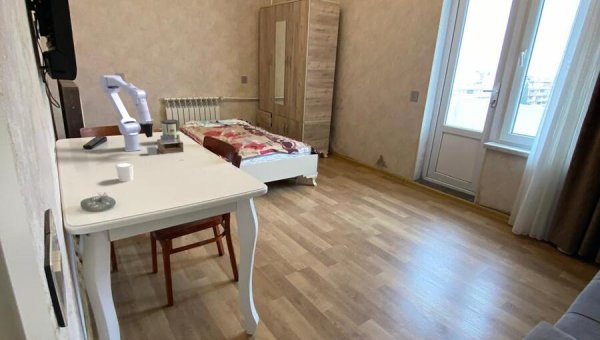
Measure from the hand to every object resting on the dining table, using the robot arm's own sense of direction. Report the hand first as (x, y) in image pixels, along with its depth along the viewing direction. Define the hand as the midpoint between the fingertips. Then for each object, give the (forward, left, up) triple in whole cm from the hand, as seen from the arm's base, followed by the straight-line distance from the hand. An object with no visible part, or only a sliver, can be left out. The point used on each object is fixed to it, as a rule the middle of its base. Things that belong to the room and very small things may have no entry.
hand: (149, 137), depth 179 cm
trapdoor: (-7, +12, -5) cm, 15 cm away
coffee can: (-24, +17, -10) cm, 31 cm away
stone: (-2, +1, -10) cm, 11 cm away
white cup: (+35, -17, -10) cm, 41 cm away
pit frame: (-5, +12, -10) cm, 16 cm away
